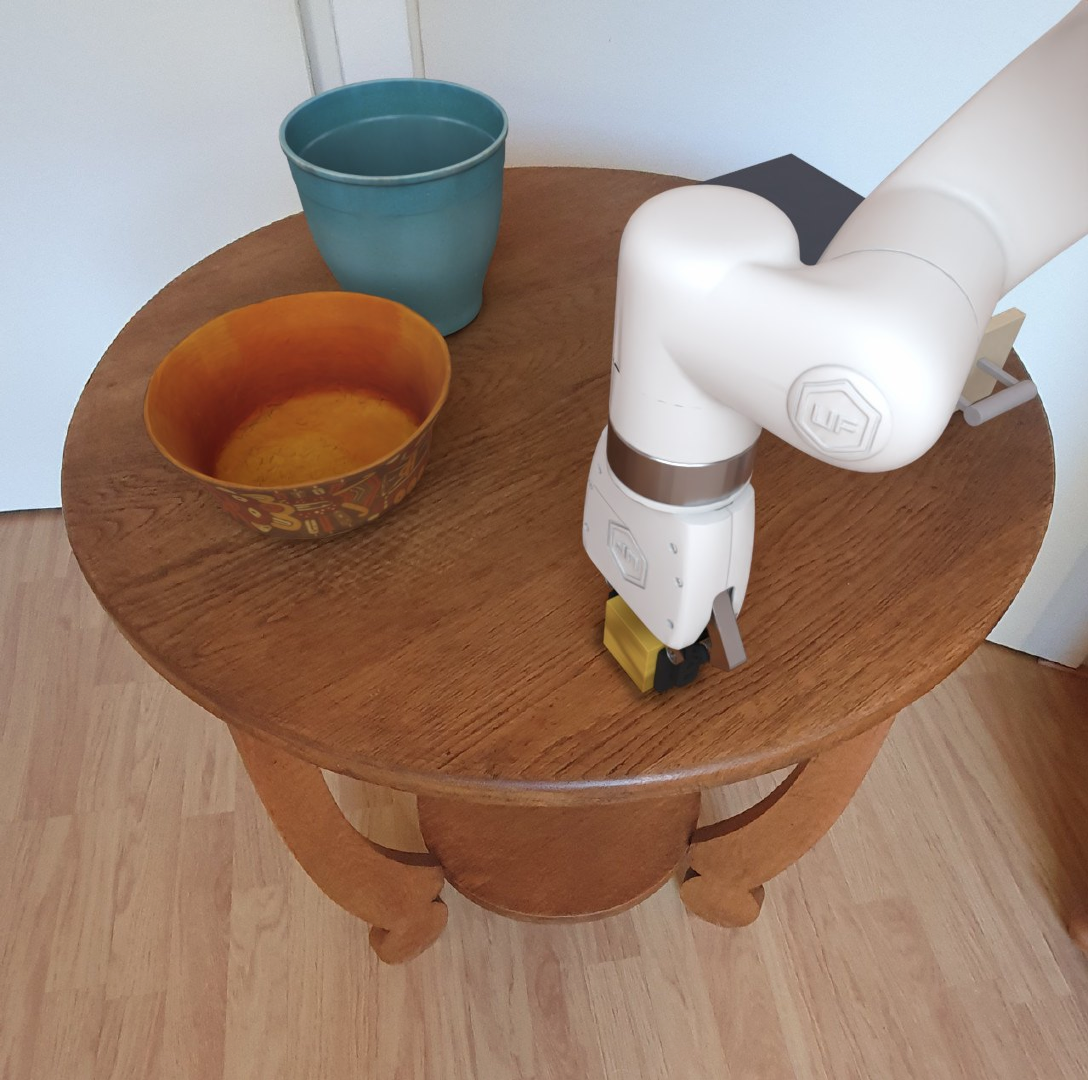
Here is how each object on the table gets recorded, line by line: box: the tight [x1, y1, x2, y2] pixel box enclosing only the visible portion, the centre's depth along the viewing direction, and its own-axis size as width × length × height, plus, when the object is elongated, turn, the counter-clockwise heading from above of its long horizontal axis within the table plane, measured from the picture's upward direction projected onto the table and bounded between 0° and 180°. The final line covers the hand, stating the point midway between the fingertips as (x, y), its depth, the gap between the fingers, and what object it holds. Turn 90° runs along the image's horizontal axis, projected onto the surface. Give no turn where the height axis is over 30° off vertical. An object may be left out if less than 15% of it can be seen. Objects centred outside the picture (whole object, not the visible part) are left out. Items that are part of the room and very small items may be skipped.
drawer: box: [953, 306, 1038, 427], centre depth 75 cm, size 20×12×8 cm, turn 31°
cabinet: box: [689, 152, 866, 266], centre depth 83 cm, size 16×14×10 cm
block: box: [602, 595, 665, 694], centre depth 59 cm, size 4×4×4 cm
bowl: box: [141, 290, 453, 540], centre depth 68 cm, size 21×21×10 cm
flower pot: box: [278, 77, 509, 338], centre depth 81 cm, size 18×18×17 cm
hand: (651, 649), depth 61 cm, fingers closed on block, 4 cm apart
